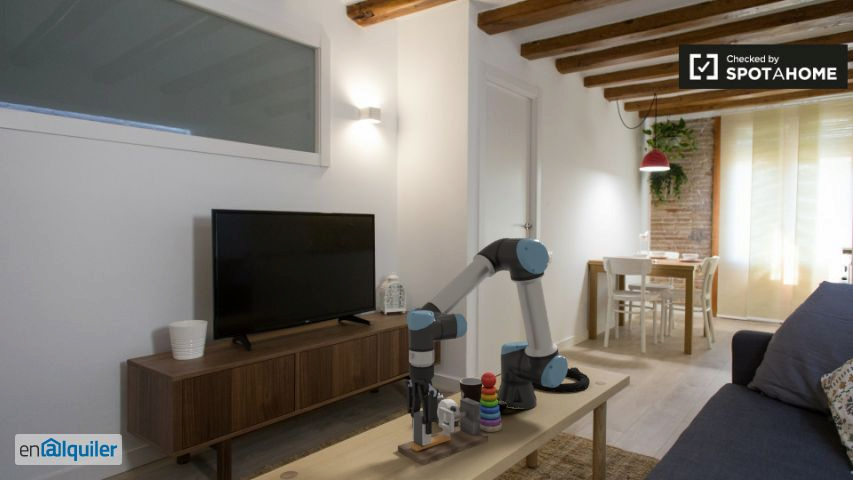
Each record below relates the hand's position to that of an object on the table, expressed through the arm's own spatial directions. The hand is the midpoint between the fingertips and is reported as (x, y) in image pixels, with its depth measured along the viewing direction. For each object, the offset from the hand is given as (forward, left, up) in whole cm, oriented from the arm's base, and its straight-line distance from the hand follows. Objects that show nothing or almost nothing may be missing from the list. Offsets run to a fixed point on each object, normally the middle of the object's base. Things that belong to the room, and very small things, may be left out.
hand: (421, 441), depth 152 cm
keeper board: (-8, 0, -4) cm, 9 cm away
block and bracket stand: (-4, 0, -2) cm, 4 cm away
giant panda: (-20, -14, -4) cm, 25 cm away
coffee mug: (-36, -18, -4) cm, 41 cm away
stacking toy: (-29, -1, -4) cm, 30 cm away
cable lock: (-88, -19, -4) cm, 91 cm away
